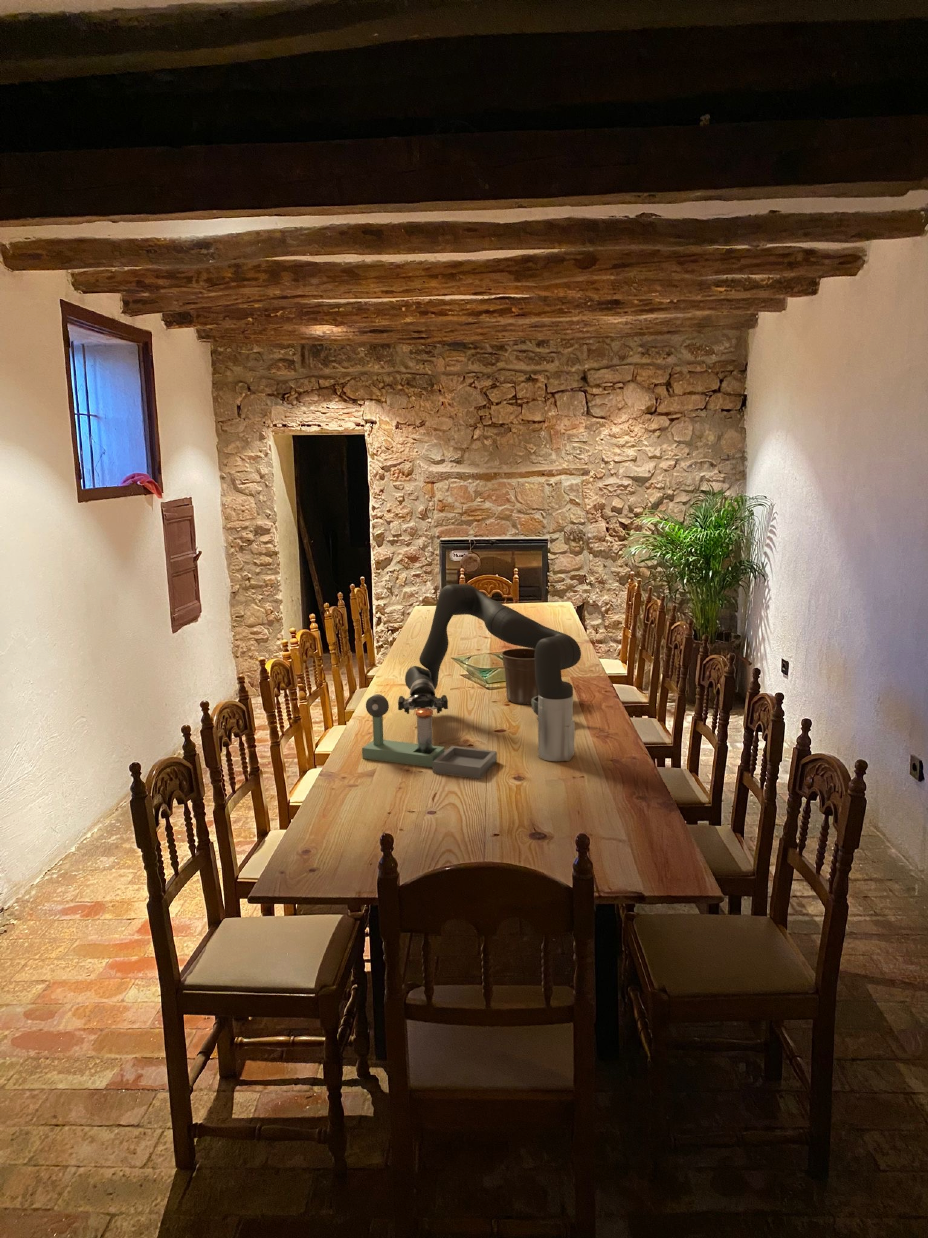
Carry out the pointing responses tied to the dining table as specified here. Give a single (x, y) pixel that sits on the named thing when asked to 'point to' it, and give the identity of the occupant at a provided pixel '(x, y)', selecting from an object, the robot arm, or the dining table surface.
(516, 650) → the plant pot
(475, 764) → the pin tray
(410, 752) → the pulley bracket
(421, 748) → the pin
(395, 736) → the dining table surface
